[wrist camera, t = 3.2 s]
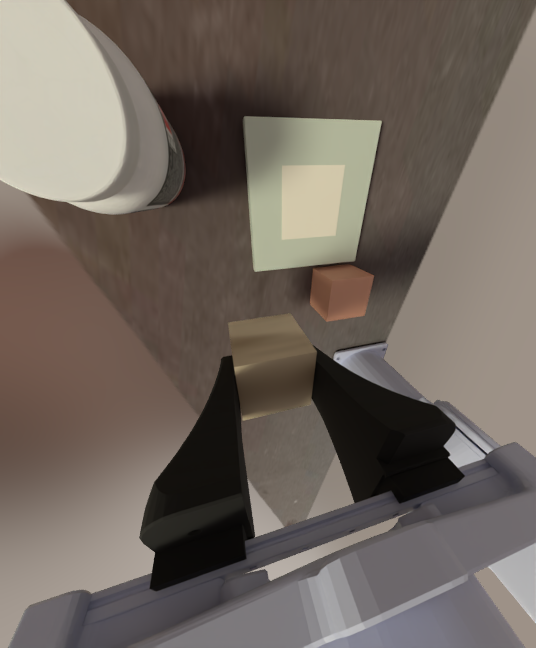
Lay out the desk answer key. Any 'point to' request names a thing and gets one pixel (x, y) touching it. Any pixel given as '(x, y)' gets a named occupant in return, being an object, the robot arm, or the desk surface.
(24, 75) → the pill bottle
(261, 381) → the beech cube
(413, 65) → the desk surface
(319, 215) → the board
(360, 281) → the terracotta cube
